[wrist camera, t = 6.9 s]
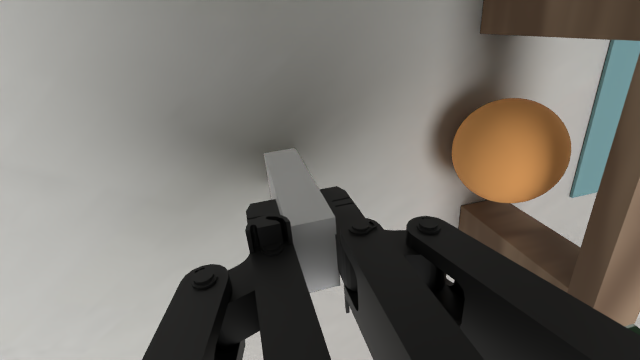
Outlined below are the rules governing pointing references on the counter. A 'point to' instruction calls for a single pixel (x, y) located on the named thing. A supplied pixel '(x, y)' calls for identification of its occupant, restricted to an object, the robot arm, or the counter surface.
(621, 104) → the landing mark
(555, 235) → the bridge
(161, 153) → the counter surface
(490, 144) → the ball
